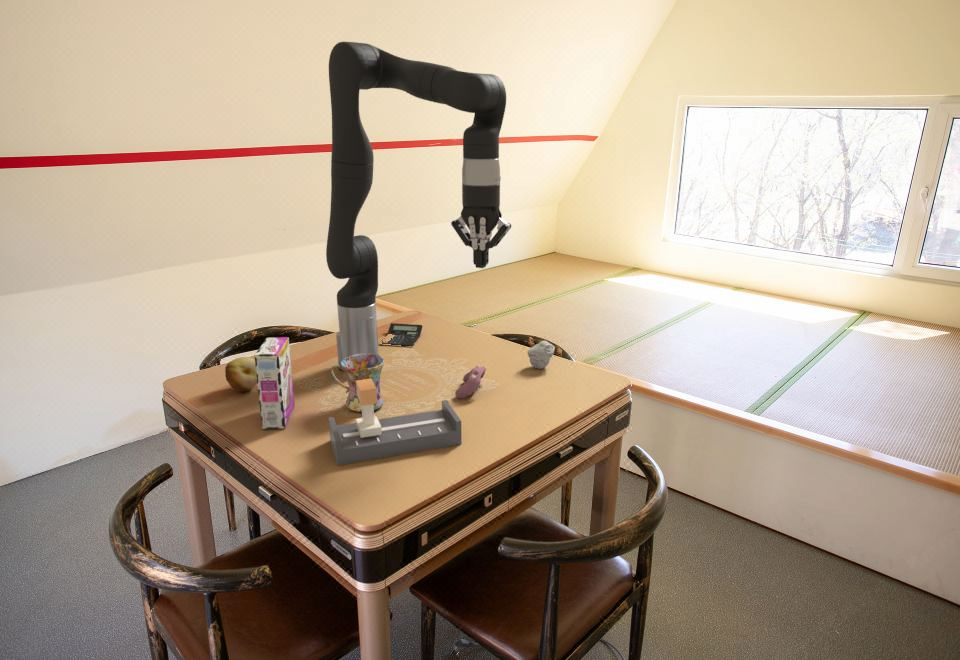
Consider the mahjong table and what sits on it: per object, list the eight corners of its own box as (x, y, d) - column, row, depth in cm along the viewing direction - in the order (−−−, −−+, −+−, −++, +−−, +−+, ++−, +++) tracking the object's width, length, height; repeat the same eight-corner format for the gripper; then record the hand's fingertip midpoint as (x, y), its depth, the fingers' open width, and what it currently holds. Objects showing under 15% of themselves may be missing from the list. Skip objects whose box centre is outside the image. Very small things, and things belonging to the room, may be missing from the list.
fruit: (225, 398, 148) (221, 365, 145) (231, 384, 156) (226, 352, 153) (260, 395, 149) (256, 363, 147) (264, 381, 157) (260, 350, 154)
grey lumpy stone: (557, 371, 163) (558, 344, 161) (531, 373, 161) (531, 347, 159) (549, 362, 169) (550, 336, 166) (523, 364, 167) (524, 339, 165)
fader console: (446, 421, 137) (446, 400, 135) (461, 443, 128) (461, 421, 126) (330, 440, 129) (328, 417, 128) (337, 465, 121) (335, 441, 119)
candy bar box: (286, 429, 134) (278, 354, 129) (261, 430, 133) (252, 355, 128) (296, 405, 144) (289, 335, 139) (273, 406, 144) (265, 336, 139)
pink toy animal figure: (470, 406, 148) (484, 381, 145) (452, 396, 148) (466, 372, 145) (478, 388, 157) (492, 365, 154) (462, 379, 157) (474, 356, 154)
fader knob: (376, 423, 129) (374, 378, 126) (381, 434, 124) (379, 388, 121) (356, 426, 128) (353, 380, 125) (360, 437, 123) (357, 391, 120)
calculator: (379, 346, 181) (378, 336, 180) (391, 332, 192) (391, 322, 191) (412, 348, 179) (411, 338, 178) (422, 334, 190) (422, 324, 189)
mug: (391, 398, 148) (389, 354, 145) (379, 416, 139) (376, 370, 136) (341, 395, 150) (337, 351, 146) (325, 412, 141) (321, 367, 138)
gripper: (442, 182, 129) (444, 268, 135) (504, 185, 124) (503, 274, 129) (459, 178, 135) (460, 260, 141) (519, 181, 130) (517, 266, 136)
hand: (481, 267), depth 135 cm, fingers closed
